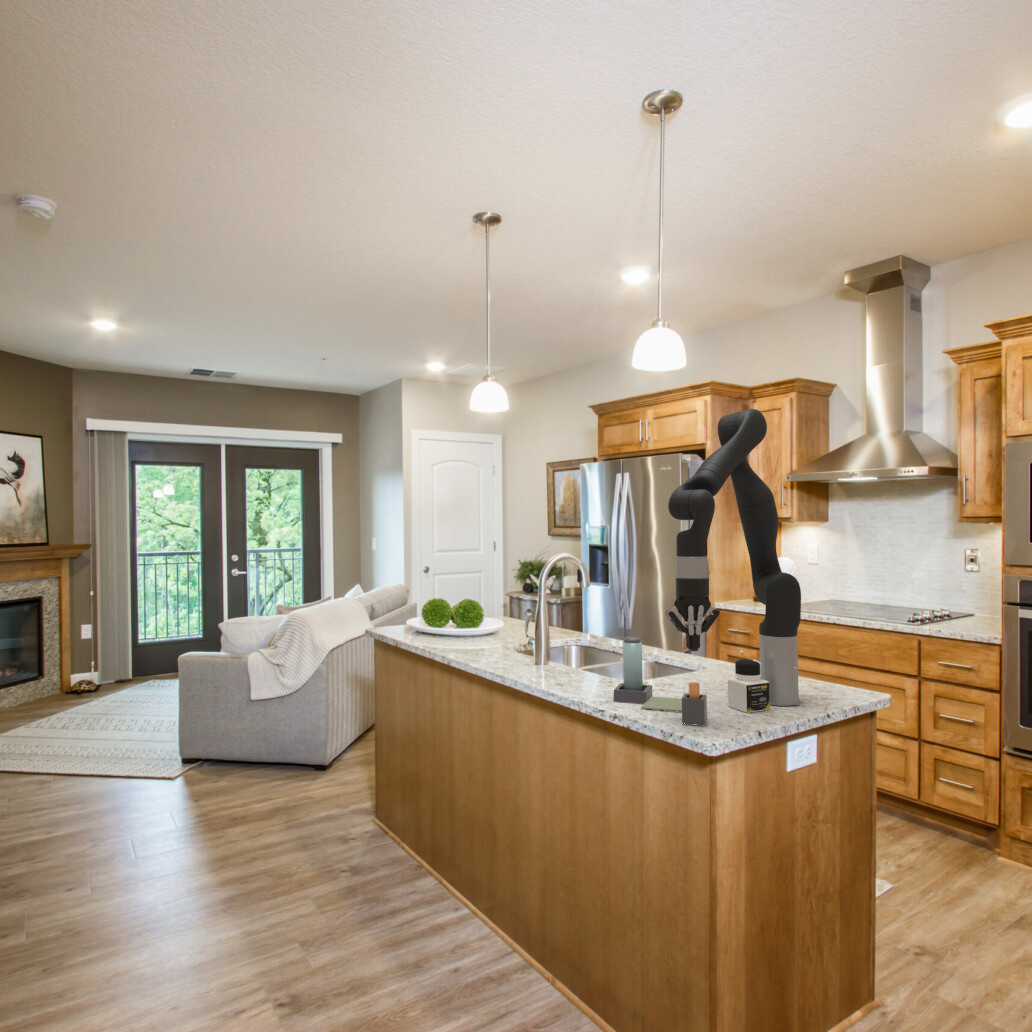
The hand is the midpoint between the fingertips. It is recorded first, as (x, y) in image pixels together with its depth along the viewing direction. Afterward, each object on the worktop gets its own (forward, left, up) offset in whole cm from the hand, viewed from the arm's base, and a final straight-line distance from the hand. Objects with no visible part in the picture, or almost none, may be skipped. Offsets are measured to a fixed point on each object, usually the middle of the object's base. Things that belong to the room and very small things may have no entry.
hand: (693, 650), depth 169 cm
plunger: (0, 0, -13) cm, 13 cm away
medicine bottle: (-11, -17, -17) cm, 26 cm away
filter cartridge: (+18, -18, -17) cm, 30 cm away
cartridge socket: (+18, -18, -17) cm, 30 cm away
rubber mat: (+8, -14, -17) cm, 23 cm away
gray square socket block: (0, 0, -17) cm, 17 cm away
